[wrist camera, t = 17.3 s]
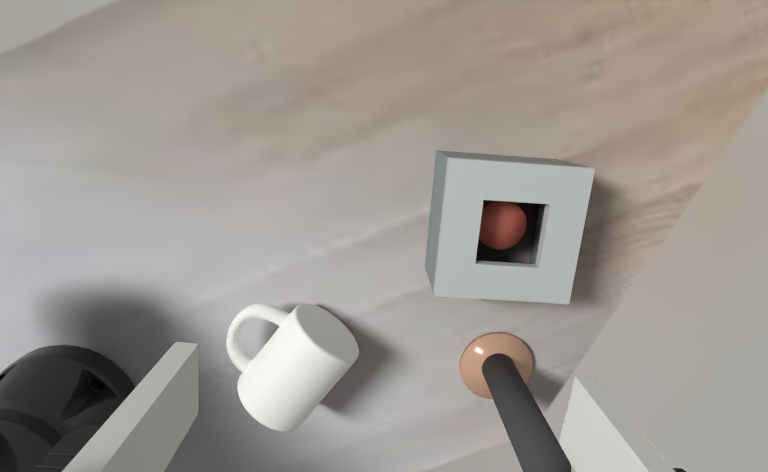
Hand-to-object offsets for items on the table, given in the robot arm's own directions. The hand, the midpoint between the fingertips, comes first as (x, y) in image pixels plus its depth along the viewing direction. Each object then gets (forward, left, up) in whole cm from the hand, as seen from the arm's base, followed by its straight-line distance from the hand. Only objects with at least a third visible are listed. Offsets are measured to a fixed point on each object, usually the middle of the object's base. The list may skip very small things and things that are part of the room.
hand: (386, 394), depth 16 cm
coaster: (+14, -17, -31) cm, 38 cm away
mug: (-9, -15, -31) cm, 36 cm away
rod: (+14, -17, -30) cm, 37 cm away
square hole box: (+11, 0, -31) cm, 33 cm away
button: (+11, 0, -29) cm, 31 cm away
